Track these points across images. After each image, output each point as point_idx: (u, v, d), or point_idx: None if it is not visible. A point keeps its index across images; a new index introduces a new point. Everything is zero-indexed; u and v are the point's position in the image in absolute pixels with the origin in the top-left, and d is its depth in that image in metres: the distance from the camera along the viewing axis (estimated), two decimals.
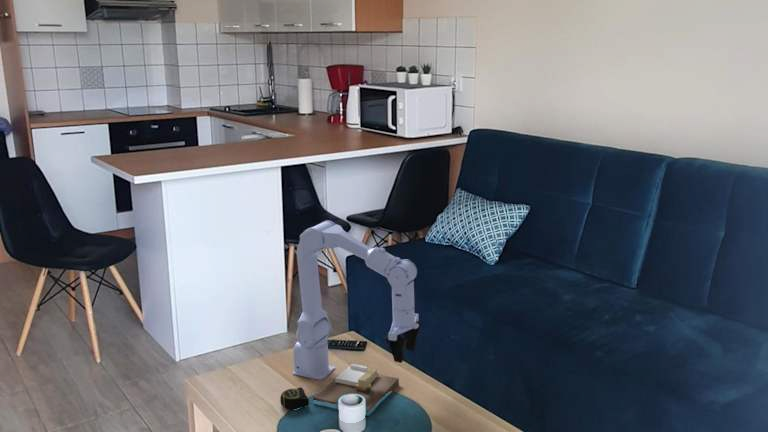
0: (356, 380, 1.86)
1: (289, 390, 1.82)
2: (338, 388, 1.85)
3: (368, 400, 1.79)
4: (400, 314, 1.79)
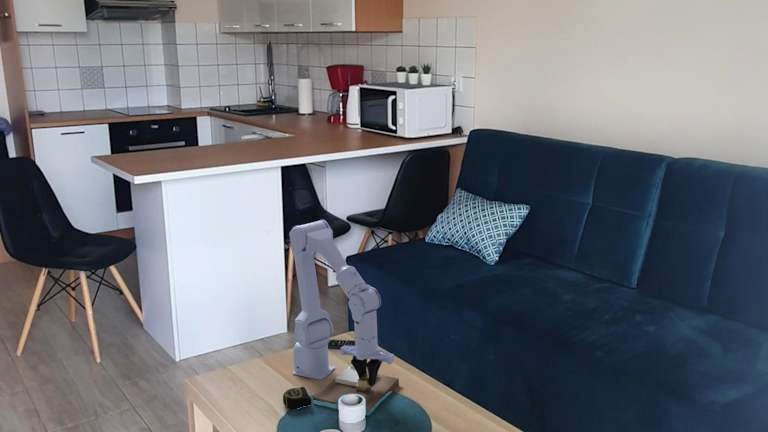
0: (356, 380, 1.86)
1: (292, 389, 1.83)
2: (338, 388, 1.85)
3: (368, 400, 1.79)
4: None
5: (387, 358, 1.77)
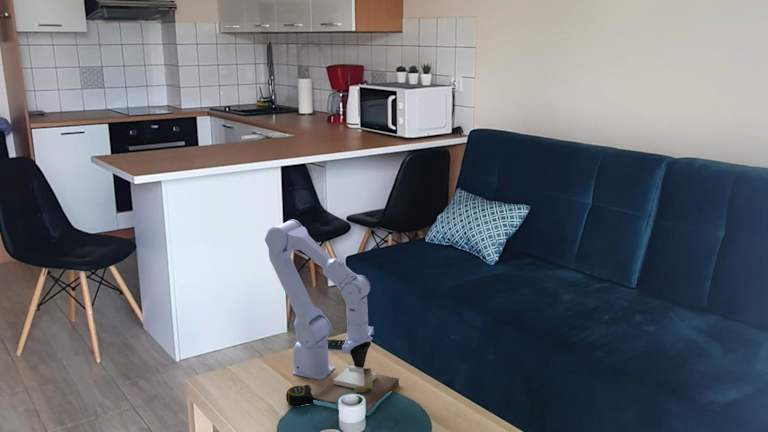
0: (354, 382, 1.85)
1: (295, 387, 1.84)
2: (338, 388, 1.85)
3: (368, 400, 1.79)
4: (354, 328, 1.87)
5: (372, 329, 1.96)
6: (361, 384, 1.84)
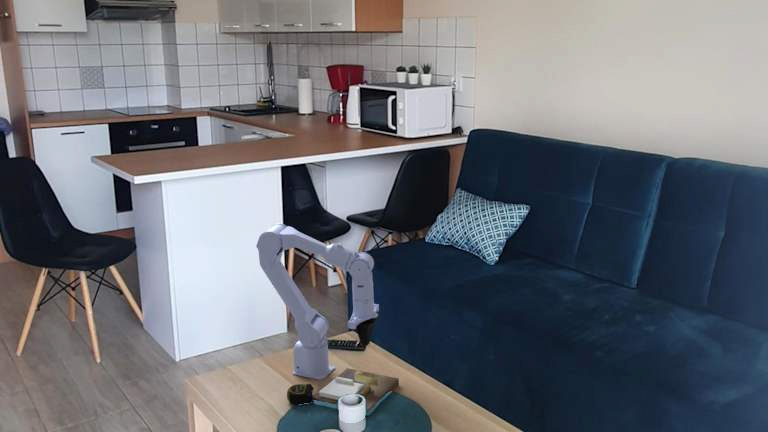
0: (341, 394, 1.79)
1: (297, 385, 1.85)
2: None
3: (368, 400, 1.79)
4: (360, 304, 1.89)
5: (377, 306, 1.98)
6: None
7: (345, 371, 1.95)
